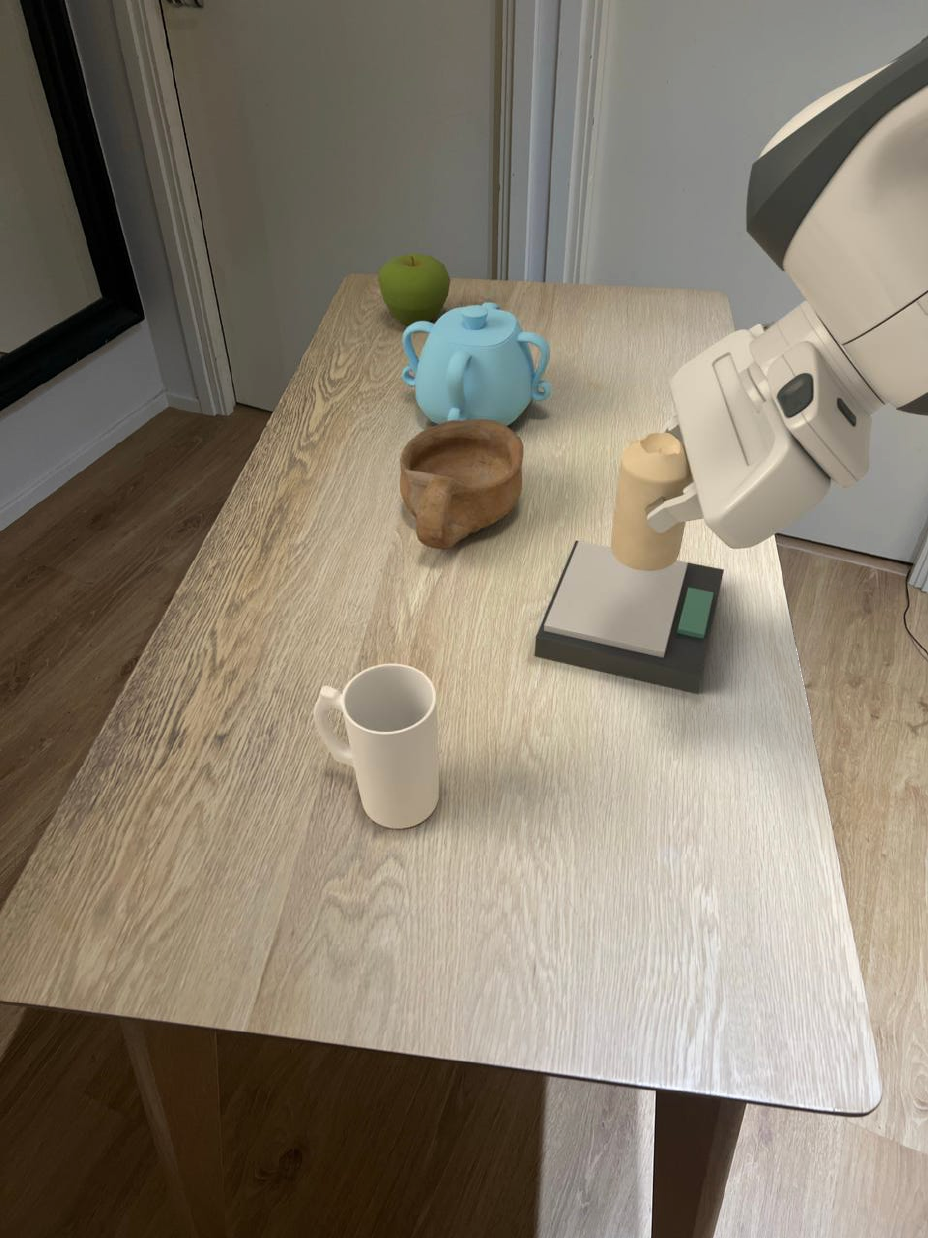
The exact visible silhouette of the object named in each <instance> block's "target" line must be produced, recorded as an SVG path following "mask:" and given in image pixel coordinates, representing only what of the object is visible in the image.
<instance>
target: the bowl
mask: <svg viewBox="0 0 928 1238" xmlns="http://www.w3.org/2000/svg"><path fill="white" fill-rule="evenodd" d="M524 450H525V449H524V443H523V440H522V439H521V438H520V436H519V435H518V434H517V433H516V432H515V431H513V430H512V429H511V428H509V427H508V426H505V425H504V424H502V423H500V422H497V421H493V420H486V419H472V420H461V421H458V420H451V421H447V422H444V423H441V424H436V425H433V426H430V427H428V428H426V429H424V430H422V431H420V432H419V433H417V435H415V436H414V437H413V438H411V439H410V440H409V441H408V442H407V443H406V445H405V446H404V447H403V448H402V451H401V454H400V458H399V464H400V465H399V466H400V476H399V493H400V495H401V498H402V500H403V501H404V504H405V506H406V507H407V509H408V510H409V512H410V514H411V515H412V517H414V518H415V519H416V520H415V521H416V523H415V534H416V538H417V539H418V541H419V542H420V543H421V544H423V545H424V546H426V547H428V548H431V549H435V550H445V549H450V548H452V547H454V545H456V544H457V543H458V542H459V541H461V540H462V539H464V538H467V536H468V535H469V534H472V533H476V532H479V531H480V530H481V529H484V528H487V527H489V526H490V525H493V524H495V523H496V522H498V521H499V520H502V519H503V518H504V517H505V516H506V515H508V514H509V513H510V512H511V510H512V508H514V507H515V506H516V505H517V502H518V500H519V498H520V496H521V494H522V489H523V461H524V452H525V451H524Z"/></svg>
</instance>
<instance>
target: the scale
mask: <svg viewBox="0 0 928 1238" xmlns="http://www.w3.org/2000/svg"><path fill="white" fill-rule="evenodd" d="M724 572H725V569H724V568H718V567H713V566H708V565H703V564H699V563H693V562H688V561H683V560H679V559H677V560H676V561H675V562H674V563H673V564H672V565H670V566H669V567H667V568H664V569H661V570H656V571H643V570H637V569H633V568H630V567H628V566H626V565H624V564H622V563H620V562H619V561H618V560H617V559H616V558H615V557H614V555H613V554H612V551H611V546H607V545H602V544H596V543H591V542H587V541H582V540H575V541H574V543H573V546H572V547H571V551H570V553H569V556H568V558H567V561H566V563H565V565H564V567H563V570H562V572H561V575H560V578H559V579H558V583H557V585H556V587H555V590H554V592H553V594H552V597H551V599H550V602H549V604H548V606H547V609H546V611H545V614H544V616H543V619H542V621H541V623H540V626H539V628H538V630H537V633H536V636H535V644H534V656H535V657H537V658H542V659H546V660H550V661H555V662H559V663H562V664H567V665H572V666H576V667H580V668H584V669H589V670H593V671H598V672H601V673H605V674H610V675H614V676H619V677H623V678H628V679H632V680H635V681H641V682H645V683H648V684H653V685H657V686H662V687H666V688H671V689H675V690H680V691H683V692H687V693H692V694H697V695H698V692H699V689H700V684H701V680H702V677H703V671H704V667H705V661H706V658H707V657H706V656H707V652H708V648H709V643H710V638H711V634H712V629H713V624H714V619H715V614H716V610H717V605H718V601H719V597H720V591H721V587H722V582H723V577H724Z"/></svg>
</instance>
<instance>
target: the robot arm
mask: <svg viewBox="0 0 928 1238" xmlns="http://www.w3.org/2000/svg"><path fill="white" fill-rule="evenodd" d="M746 195H747V196H746V211H745V216H746V217H745V218H746V221H745V223H746V224H745V226H746V229H745V230H746V232H747V233H748V235H749V236H750V237H751V238H752V239H753V240H754V242H756V244H757V245H758V247H760V248H761V249H762V251H763V252H764V253H765V254H766V255H767V256H768V257H769V258H770V259H771V261H772V262H773V263H774V264H775V265H776V266H777V268H778V269H780V271H782V272H785V273H786V274H787V275H788V277H789V279H790V280H791V281H792V282H793V284H794V285H795V287H796V288H797V289H798V290H799V292H800V293H801V294H802V296H803V297H804V299H805V300H803V301H802V302H801V303H800V304H798V305H797V306H796V307H795V308H793V309H792V310H790V311H789V312H788V313H787V314H785V315H784V316H783V317H782V318H780V319H779V320H778V321H772V322H766V323H757V324H755V325H753V326H752V327H750V328H749V329H745V328H741V329H738V330H735V331H733V332H731V333H729V334H728V335H725V336H724V337H722V338H720V339H719V340H718V341H716V342H714V343H712V344H711V345H710V346H709V347H707V348H705V349H704V350H703V351H701V352H699V353H698V354H697V355H695V356H694V357H693V358H691V359H689V360H688V361H687V362H686V363H684V364H683V365H681V366H680V367H679V368H678V369H677V370H676V371H675V373H674V374H673V375H672V377H670V380H669V382H668V388H669V393H670V397H671V401H672V404H673V407H674V412H675V415H674V416H673V417H672V418H670V419H669V420H668V421H666V422H665V423H664V424H663V426H662V427H661V429H660V430H659V432H658V433H669V434H671V435H673V436H674V437H675V438H676V439H677V440H678V441H680V442H681V443H682V444H683V445H684V446H685V450H686V453H687V457H688V461H689V465H690V469H691V472H692V476H693V480H694V482H693V483H691V484H690V485H689V486H687V487H686V488H684V490H683V493H684V495H682V496H679V497H676V498H673V499H670V500H666V499H665V498H663V497H660V498H659V499H657V500H656V501H654V503H653V504H650V505H648V506H647V507H646V517H647V523H648V525H649V526H650V527H652V528H653V529H654V530H655V531H656V532H658V533H663V532H665V531H667V530H668V529H669V528H671V527H672V526H674V525H675V524H677V523H678V522H686V523H687V522H691V521H697V520H702V519H703V521H704V524H705V525H706V526H707V527H708V529H710V531H711V532H712V533H713V534H714V535H715V536H717V538H718V539H719V540H720V541H722V542H723V543H724V544H725V545H726V546H727V547H728V548H729V549H732V550H742V549H750V548H753V547H755V546H757V545H759V544H761V543H762V542H764V541H766V540H767V539H769V538H771V537H772V536H774V535H776V534H778V533H779V532H781V531H783V530H784V529H786V528H787V527H789V526H790V525H792V524H794V522H796V521H798V520H799V519H801V518H803V517H804V516H805V515H807V514H808V513H809V512H811V511H812V510H813V509H814V508H816V507H817V506H818V505H819V504H820V503H821V502H822V501H823V500H824V499H825V498H826V497H827V495H828V494H829V491H830V490H831V485H832V481H833V483H835V485H836V486H837V487H839V488H840V489H845V488H849V487H851V486H853V485H854V484H856V483H858V482H860V480H862V479H863V478H864V477H865V476H867V474H868V472H869V470H870V464H871V463H870V449H871V448H870V446H871V444H870V442H871V433H872V432H871V431H872V425H873V418H872V414H874V413H876V412H877V411H879V410H880V409H882V408H883V407H885V406H886V405H888V404H891V405H892V406H893V407H894V408H895V410H897V411H899V412H903V413H907V414H911V415H918V416H919V415H920V416H924V417H925V416H926V417H928V34H926V36H925V37H924V38H922V39H921V41H920V42H918V43H916V45H914V46H912V47H911V48H910V49H907V51H905V52H904V53H902V54H901V55H899V56H897V57H896V58H895V59H893V60H891V61H890V62H888V63H887V64H885V65H883V66H882V67H879V68H878V69H876V70H874V71H871V72H869V73H867V74H865V75H863V76H859V77H858V78H856V79H854V80H852V81H848V82H847V83H845V84H843V85H840V86H839V87H837V88H835V89H833V90H831V91H829V92H828V93H826V94H824V95H821V97H819V98H818V99H816V100H815V101H813V102H812V103H810V104H808V105H807V106H806V107H804V108H803V109H801V110H800V111H799V112H798V113H797V114H795V115H794V116H793V117H791V118H790V120H788V121H787V122H786V123H785V124H784V125H783V126H782V127H781V128H780V129H779V130H778V131H777V132H776V133H775V134H774V135H773V136H772V138H771V139H770V140H769V141H768V142H767V144H766V145H765V146H764V148H763V149H762V151H761V153H760V154H759V156H758V158H757V160H756V161H754V162H753V163H752V165H751V169H750V174H749V180H748V186H747V194H746Z"/></svg>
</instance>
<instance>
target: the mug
mask: <svg viewBox="0 0 928 1238" xmlns="http://www.w3.org/2000/svg"><path fill="white" fill-rule="evenodd" d="M437 699H438V697H437V690H436V687H435V685H434V683H433V681H432V680H431V679H430V677H429V676H428V675H427V674H426V673H424V672H423V671H421V670H420V669H418V668H416V667H413V666H411V665H407V664H403V663H382V664H377V665H372V666H371V667H370V666H369V667H368V668H366V669H364V670H362V671H360V672H359V673H357V674H356V675H355V676H353V677H352V678H351V679H350V680H349V681H348V682H347V684H345V686H344V689H343V691H342V693H341V691H340V690H339V689H337V688H335V687H332V686H330V685H326V684H325V685H324V686H323V685H322V687H321V689H320V691H319V697H318V699H317V700H316V702H315V705H314V708H313V720H314V724H315V727H316V730H317V732H318V734H319V736H320V738H321V740H322V742H323V743H324V744H325V746H326V748H327V750H328V752H329V753H330V754H331V756H332V758H333V760H334V761H335V762H337V763H339V764H343V765H345V766H348V767H351V768H353V769H354V771H355V772H354V773H355V777H356V778H355V779H356V782H357V787H358V793H359V796H360V800H361V805H362V807H363V810H364V812H365V813H366V815H367V816H368V817H369V819H370V820H372V821H373V822H374V823H376V824H378V825H379V826H382V827H385V828H387V829H388V828H389V829H395V830H396V829H407V828H411V827H412V828H413V827H414V826H417V825H419V824H421V823H422V822H423V823H424V821H425V820H427V819H428V818H429V817H430V816H431V815H432V814H433V813H434V811H435V809H436V807H437V806H438V802H439V799H440V798H439V797H440V768H439V767H440V766H439V765H440V764H439V736H438V735H439V733H438V731H439V730H438V729H439V728H438V703H437ZM330 710H337V711H339V712H341V713H343V720H344V725H345V729H346V734H347V740H348V743H349V744H348V743H347V742H345V741H344V740H343V739H342V738H340V736H338V734H337V733H336V732H335V731H334V730H333V729H334V728H333V727H332V725H331V723H330V721H329V716H328V714H329V712H330Z"/></svg>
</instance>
